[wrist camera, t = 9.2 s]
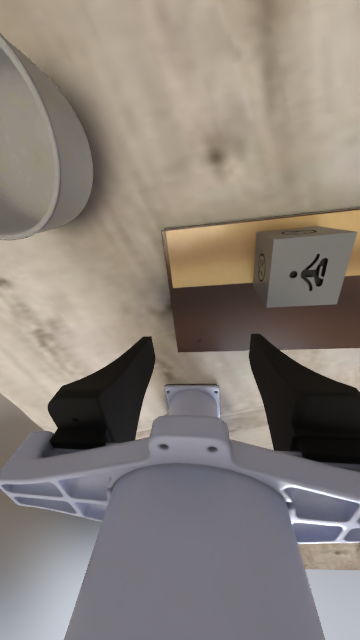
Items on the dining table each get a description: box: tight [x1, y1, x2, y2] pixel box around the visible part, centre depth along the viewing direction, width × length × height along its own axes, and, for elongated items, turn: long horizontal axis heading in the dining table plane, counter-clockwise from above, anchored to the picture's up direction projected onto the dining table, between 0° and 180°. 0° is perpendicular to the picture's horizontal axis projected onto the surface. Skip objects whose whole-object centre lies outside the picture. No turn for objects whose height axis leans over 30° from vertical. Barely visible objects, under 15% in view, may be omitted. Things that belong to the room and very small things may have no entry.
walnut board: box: [162, 207, 360, 352], centre depth 21 cm, size 14×22×2 cm, turn 96°
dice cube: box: [253, 226, 357, 308], centre depth 16 cm, size 5×5×5 cm
